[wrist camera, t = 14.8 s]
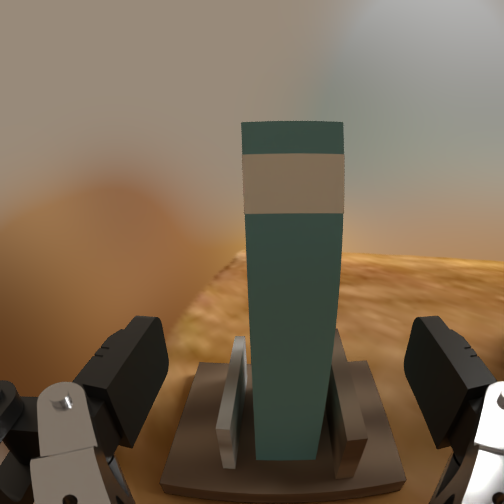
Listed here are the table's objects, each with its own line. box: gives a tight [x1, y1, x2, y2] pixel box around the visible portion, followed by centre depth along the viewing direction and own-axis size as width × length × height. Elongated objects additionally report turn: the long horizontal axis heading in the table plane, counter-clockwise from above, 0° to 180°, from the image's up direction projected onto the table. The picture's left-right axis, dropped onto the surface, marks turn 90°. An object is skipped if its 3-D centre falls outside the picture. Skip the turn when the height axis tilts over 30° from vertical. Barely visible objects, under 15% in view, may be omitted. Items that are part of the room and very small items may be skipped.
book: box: [241, 121, 344, 460], centre depth 18 cm, size 8×4×20 cm, turn 175°
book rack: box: [160, 329, 406, 503], centre depth 21 cm, size 14×16×6 cm
